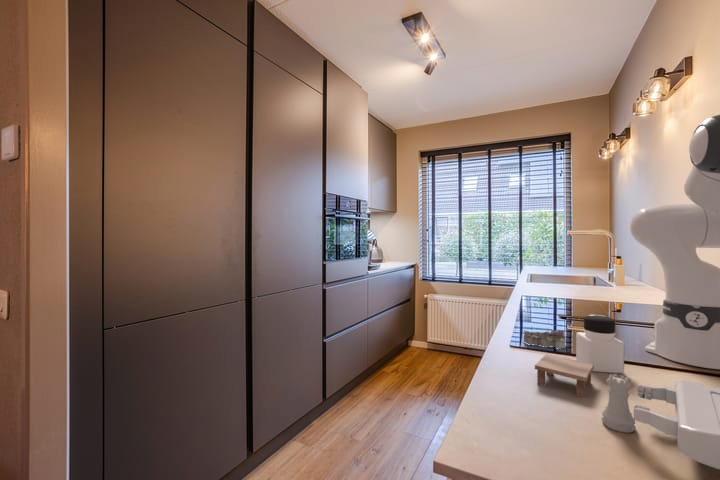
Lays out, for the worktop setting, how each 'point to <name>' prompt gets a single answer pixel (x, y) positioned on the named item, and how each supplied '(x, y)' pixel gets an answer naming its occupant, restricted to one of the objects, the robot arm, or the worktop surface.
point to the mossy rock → (546, 338)
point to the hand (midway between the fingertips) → (635, 400)
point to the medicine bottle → (600, 345)
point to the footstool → (565, 370)
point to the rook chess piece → (618, 406)
